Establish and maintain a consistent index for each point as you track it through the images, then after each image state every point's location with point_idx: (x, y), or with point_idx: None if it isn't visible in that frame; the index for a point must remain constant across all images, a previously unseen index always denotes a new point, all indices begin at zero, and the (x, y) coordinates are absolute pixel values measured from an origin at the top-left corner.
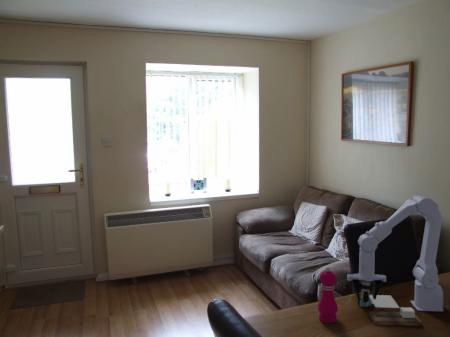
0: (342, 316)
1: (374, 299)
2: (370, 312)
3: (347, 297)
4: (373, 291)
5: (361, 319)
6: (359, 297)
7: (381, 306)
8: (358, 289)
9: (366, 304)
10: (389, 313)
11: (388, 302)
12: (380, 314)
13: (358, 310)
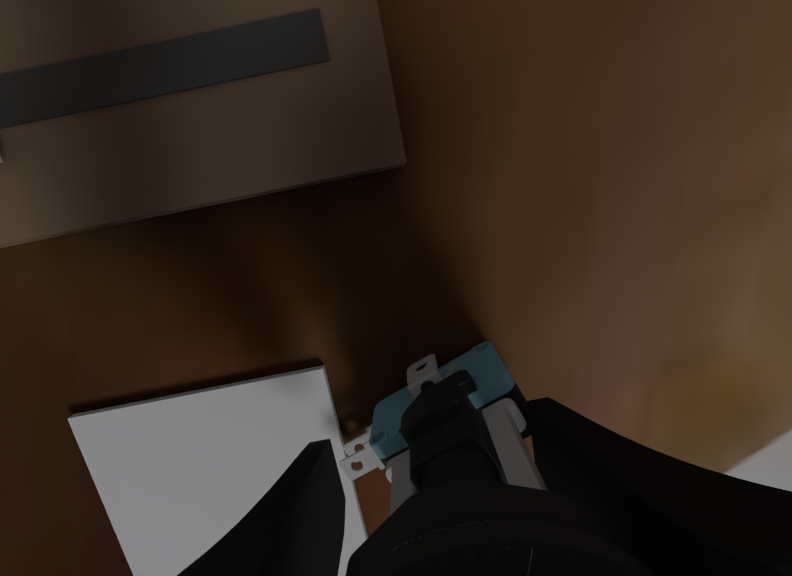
0: (722, 44)
1: None
2: (394, 124)
3: None
4: (324, 565)
5: (504, 19)
6: (535, 407)
7: (260, 398)
8: (643, 472)
9: (425, 368)
10: (149, 160)
11: (186, 507)
12: (265, 95)
13: (515, 255)
